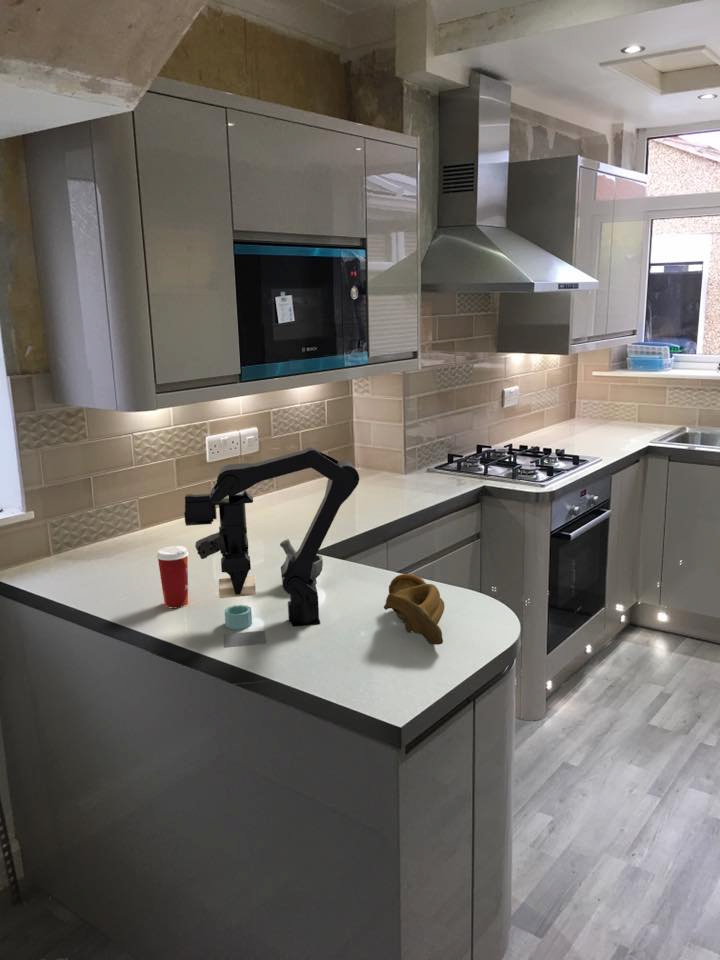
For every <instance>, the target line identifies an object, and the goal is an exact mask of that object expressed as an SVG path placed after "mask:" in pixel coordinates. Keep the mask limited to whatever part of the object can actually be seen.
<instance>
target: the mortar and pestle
mask: <svg viewBox="0 0 720 960" xmlns="http://www.w3.org/2000/svg"><path fill="white" fill-rule="evenodd" d="M279 546H280V547H281V548H282V550H283V551H284V553H285V555H286V556H287V553H290V554H291V555H294V554H295V553H296V552H297V550H295V548H294V547H293V545H292V544H291V541H290V539H289V538H286V539H284V540H282V541H281V542H280V544H279ZM323 561H324V560H323V557H322V555H320V554H317V555H316V557H315V559H314V562H313V567H312V572H311V576H310V577H311V578H312V579H313V580H314V581H315V584H318V583H317V578H318V577H319V576H320V575H321V573H322V571H323V566H324V562H323Z"/></svg>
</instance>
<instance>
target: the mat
mask: <svg viewBox="0 0 720 960" xmlns="http://www.w3.org/2000/svg"><path fill="white" fill-rule="evenodd" d="M266 644H267V639H266V631H265V630H257V631H245V632H236V633H235V632H234V633H233V632H232V633H224V634H223V646H224V647H223V648H226V649H227V648H234V647H245V646H256V645H266Z"/></svg>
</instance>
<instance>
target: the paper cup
mask: <svg viewBox="0 0 720 960" xmlns="http://www.w3.org/2000/svg"><path fill="white" fill-rule="evenodd" d="M189 555H190V554H189V552H188V550H187V548H186V547H185V546H181V545H172V546H165V547H162V548H160V549H159V550H158V551H157V554H156V559H157V561H158V568H159V575H160V583H161V589H162V594H163V595H162V597H163V602H164V606H165V605H166V606H167V607H181V606H184V605H186V604H187V603H188V604H189V576H188V575H189V573H188V572H189V566H188V565H189V564H188V563H189V562H188V556H189ZM188 604H187V605H188ZM187 605H186V606H187ZM166 606H165V607H166ZM167 607H166V608H167ZM184 607H185V606H184ZM181 608H182V607H181Z"/></svg>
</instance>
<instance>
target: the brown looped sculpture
mask: <svg viewBox="0 0 720 960" xmlns="http://www.w3.org/2000/svg"><path fill="white" fill-rule="evenodd" d="M445 607H446V606H445V602H444V600H443V599H442V597H441V594H440V591H439V589H438V588H437V586H436V585H435V584H432V583H426V582H425V580H424V579H423V578H421V577H420V576H418V575H416V574H413V573H404V574H403V573H402V574H398V575H397V576H395V577H394V578H392V580H391V581H390V584H389V586H388V594H387V596H386V599H385V604H384V606H383V609H384V610H385V611H386V610H389V609H391V610H393V612H394V613H396V616H397V618H398V619H399V620H400V621H401V622H402V623H404V629H405V631H406V632H407V633H409V634H410V633H414V634H416V635H420V636H422V637H423V638H424V639H425V641H426V642H427V643H428V644H430V645H435V646H436V645H437V646H438V645H442V644H443V643H444V639H443V632H442V629H441V628H440V626H439V622H440V621H441V618H442V616H443V614H444V613H445V612H444V611H445Z"/></svg>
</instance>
